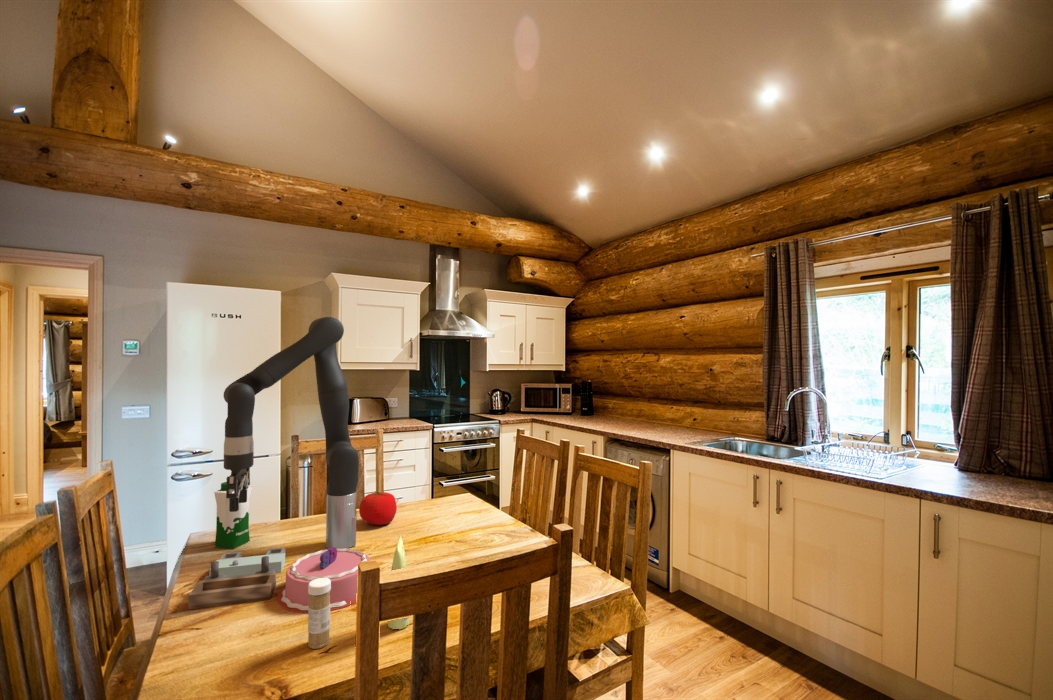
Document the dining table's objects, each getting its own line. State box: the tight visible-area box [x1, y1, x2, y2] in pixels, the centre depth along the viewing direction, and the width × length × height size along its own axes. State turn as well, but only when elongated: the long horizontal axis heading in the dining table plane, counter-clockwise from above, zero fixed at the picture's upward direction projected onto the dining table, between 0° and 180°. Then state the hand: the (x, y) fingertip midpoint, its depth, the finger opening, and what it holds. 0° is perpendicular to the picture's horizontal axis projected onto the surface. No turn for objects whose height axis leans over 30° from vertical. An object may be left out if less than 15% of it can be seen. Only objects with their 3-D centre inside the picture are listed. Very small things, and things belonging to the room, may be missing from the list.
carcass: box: [187, 556, 277, 610], centre depth 127 cm, size 18×10×7 cm, turn 107°
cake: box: [276, 547, 371, 614], centre depth 130 cm, size 25×25×11 cm
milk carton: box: [213, 481, 253, 550], centre depth 160 cm, size 9×9×20 cm
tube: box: [387, 535, 410, 630], centre depth 114 cm, size 6×5×20 cm
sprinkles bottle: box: [307, 578, 331, 650], centre depth 106 cm, size 5×5×14 cm
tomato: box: [358, 491, 397, 526], centre depth 181 cm, size 13×14×12 cm
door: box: [208, 547, 286, 578], centre depth 142 cm, size 18×11×4 cm, turn 107°
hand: (238, 506), depth 142 cm, fingers open, 8 cm apart
